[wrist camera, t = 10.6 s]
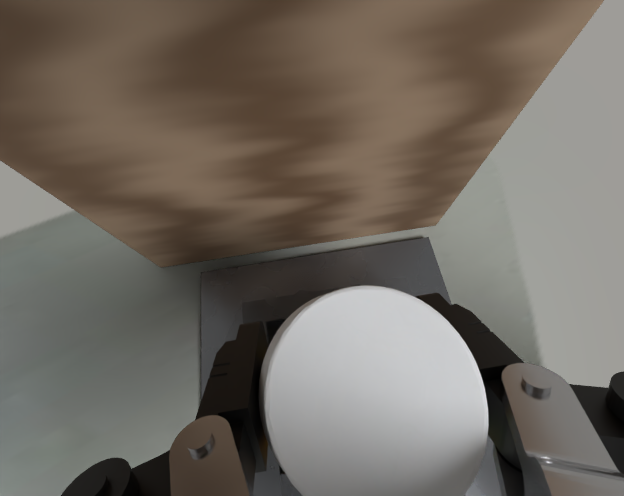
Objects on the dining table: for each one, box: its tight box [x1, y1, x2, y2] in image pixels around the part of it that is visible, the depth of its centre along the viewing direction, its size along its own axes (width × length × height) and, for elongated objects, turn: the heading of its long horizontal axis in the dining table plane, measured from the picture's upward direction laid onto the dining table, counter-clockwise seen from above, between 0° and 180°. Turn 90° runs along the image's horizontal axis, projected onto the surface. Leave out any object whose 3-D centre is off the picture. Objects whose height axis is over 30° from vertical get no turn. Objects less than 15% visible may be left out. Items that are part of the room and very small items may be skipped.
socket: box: [201, 237, 502, 496], centre depth 16 cm, size 16×16×4 cm
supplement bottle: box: [258, 285, 489, 496], centre depth 10 cm, size 5×5×10 cm
